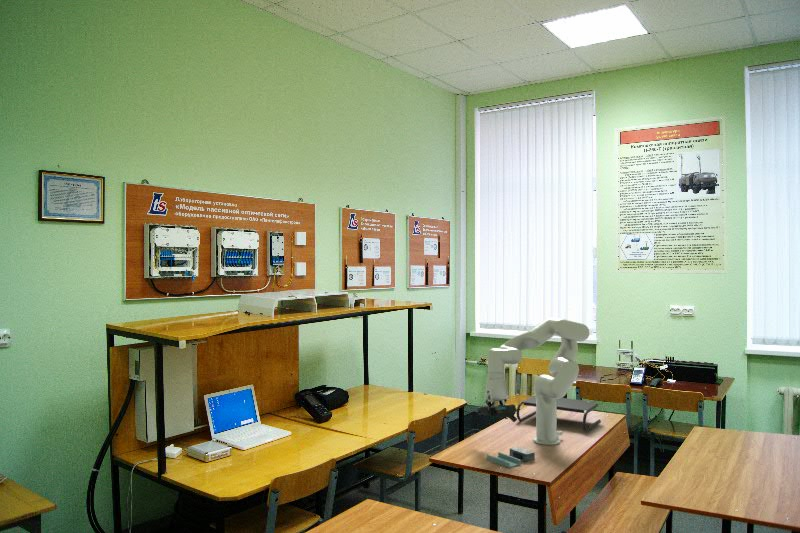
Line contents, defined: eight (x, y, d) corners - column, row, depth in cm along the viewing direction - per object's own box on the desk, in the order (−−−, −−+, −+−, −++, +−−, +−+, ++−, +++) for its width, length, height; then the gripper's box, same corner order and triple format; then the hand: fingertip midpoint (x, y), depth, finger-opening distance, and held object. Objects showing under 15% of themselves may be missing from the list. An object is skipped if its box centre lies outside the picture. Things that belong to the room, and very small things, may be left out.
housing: (517, 454, 254) (517, 446, 254) (534, 460, 245) (534, 452, 246) (508, 456, 251) (508, 448, 251) (525, 462, 242) (525, 454, 242)
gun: (514, 422, 254) (507, 399, 257) (480, 429, 268) (474, 408, 270) (520, 420, 258) (513, 398, 260) (486, 427, 271) (480, 406, 273)
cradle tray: (499, 456, 251) (499, 452, 251) (520, 464, 240) (520, 460, 240) (486, 459, 247) (486, 455, 247) (508, 468, 236) (508, 463, 236)
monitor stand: (601, 422, 309) (600, 402, 309) (585, 434, 286) (585, 412, 286) (535, 412, 330) (535, 394, 330) (516, 423, 307) (515, 403, 307)
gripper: (504, 372, 272) (504, 410, 272) (476, 376, 262) (477, 415, 262) (515, 374, 266) (515, 413, 265) (487, 378, 256) (488, 419, 256)
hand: (496, 414), depth 264 cm, fingers closed on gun, 5 cm apart
